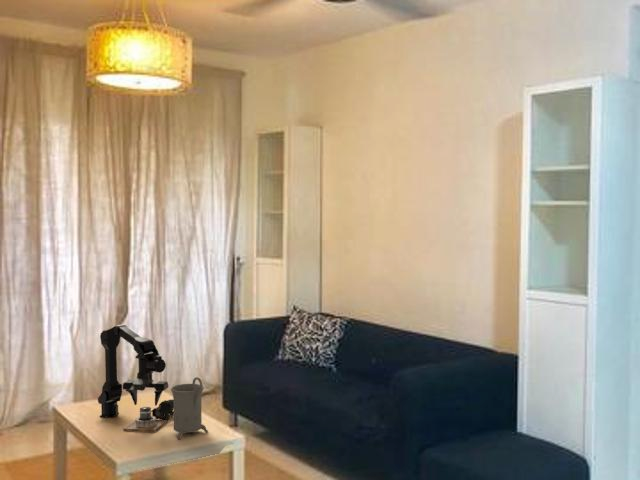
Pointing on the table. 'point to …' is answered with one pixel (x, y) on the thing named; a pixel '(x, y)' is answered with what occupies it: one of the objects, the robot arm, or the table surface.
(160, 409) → the night vision scope
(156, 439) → the table surface
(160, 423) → the mount plate
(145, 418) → the lens
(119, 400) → the robot arm
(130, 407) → the table surface
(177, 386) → the grey footed pail
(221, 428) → the table surface
